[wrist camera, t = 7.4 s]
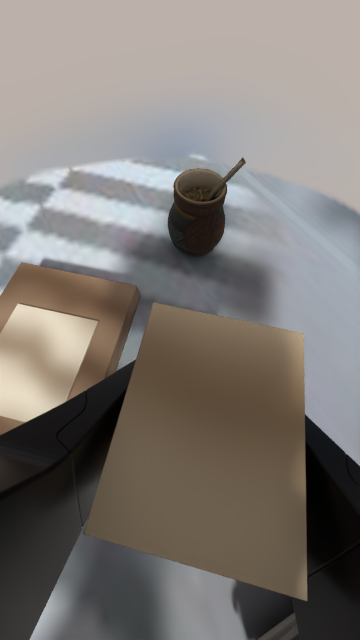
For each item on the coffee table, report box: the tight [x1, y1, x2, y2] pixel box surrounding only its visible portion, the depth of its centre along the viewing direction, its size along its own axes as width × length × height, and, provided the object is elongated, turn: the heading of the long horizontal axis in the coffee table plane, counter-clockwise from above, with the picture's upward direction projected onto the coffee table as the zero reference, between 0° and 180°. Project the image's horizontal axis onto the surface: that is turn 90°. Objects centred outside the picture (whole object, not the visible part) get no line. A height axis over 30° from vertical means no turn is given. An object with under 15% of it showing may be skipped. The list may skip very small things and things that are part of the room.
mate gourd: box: [168, 158, 246, 256], centre depth 21 cm, size 7×8×10 cm
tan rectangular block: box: [84, 302, 307, 601], centre depth 10 cm, size 6×5×10 cm
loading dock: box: [0, 262, 140, 435], centre depth 19 cm, size 20×14×3 cm
